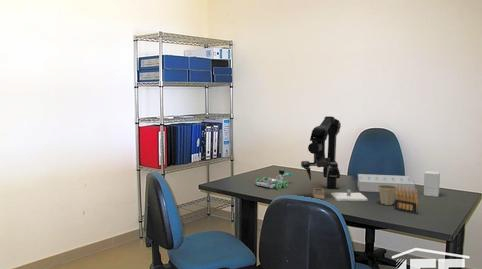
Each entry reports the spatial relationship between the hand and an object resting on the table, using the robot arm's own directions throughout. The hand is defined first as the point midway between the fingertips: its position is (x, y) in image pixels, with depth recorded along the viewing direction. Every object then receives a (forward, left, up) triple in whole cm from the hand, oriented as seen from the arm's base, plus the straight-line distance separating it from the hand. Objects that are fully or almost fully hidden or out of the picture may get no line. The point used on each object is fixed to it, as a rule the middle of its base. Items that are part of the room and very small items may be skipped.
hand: (318, 180), depth 224 cm
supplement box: (-4, +63, -9) cm, 64 cm away
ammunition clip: (+28, +36, -9) cm, 47 cm away
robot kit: (-29, -20, -10) cm, 37 cm away
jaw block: (0, 0, -9) cm, 9 cm away
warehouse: (-17, +42, -10) cm, 46 cm away
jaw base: (+2, +16, -9) cm, 18 cm away
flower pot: (+14, +32, -9) cm, 36 cm away
